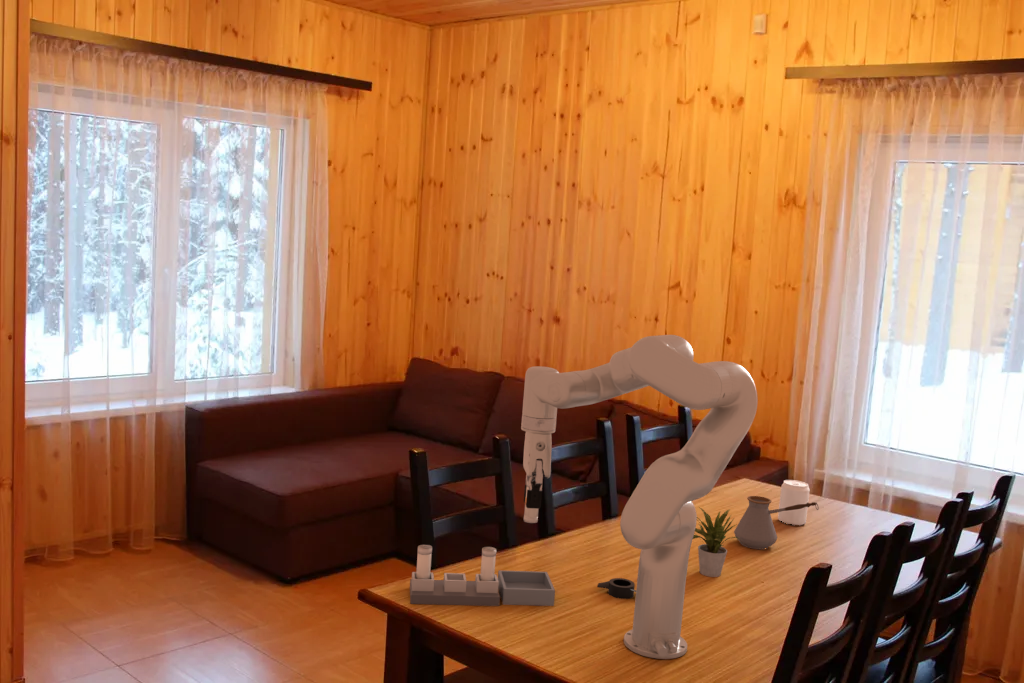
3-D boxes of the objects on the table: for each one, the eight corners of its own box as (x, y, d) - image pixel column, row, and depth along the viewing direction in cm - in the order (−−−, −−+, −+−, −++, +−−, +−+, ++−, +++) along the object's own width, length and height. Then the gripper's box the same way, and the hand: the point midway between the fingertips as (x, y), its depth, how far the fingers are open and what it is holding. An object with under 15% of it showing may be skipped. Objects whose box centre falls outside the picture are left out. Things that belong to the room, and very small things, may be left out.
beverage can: (777, 523, 289) (781, 484, 287) (778, 516, 296) (782, 478, 295) (805, 528, 286) (810, 488, 285) (805, 520, 294) (810, 482, 293)
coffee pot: (727, 545, 265) (733, 491, 263) (739, 535, 275) (745, 483, 273) (808, 563, 255) (814, 507, 253) (817, 552, 265) (823, 498, 263)
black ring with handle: (617, 584, 229) (618, 572, 229) (648, 599, 221) (649, 587, 221) (593, 590, 224) (594, 578, 224) (624, 605, 217) (625, 593, 216)
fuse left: (429, 590, 211) (432, 549, 210) (415, 589, 211) (418, 549, 210) (429, 584, 214) (431, 545, 213) (414, 584, 214) (417, 544, 213)
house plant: (693, 557, 252) (699, 495, 250) (745, 570, 245) (752, 507, 243) (672, 572, 240) (679, 507, 238) (727, 586, 233) (734, 519, 231)
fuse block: (499, 606, 210) (500, 585, 210) (410, 603, 208) (411, 583, 207) (494, 590, 219) (496, 570, 219) (409, 587, 217) (411, 568, 216)
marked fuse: (538, 523, 214) (542, 483, 213) (524, 522, 214) (527, 482, 213) (536, 519, 217) (539, 479, 216) (522, 518, 217) (526, 479, 216)
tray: (553, 605, 213) (555, 590, 212) (502, 604, 211) (504, 588, 211) (545, 586, 224) (547, 571, 223) (497, 585, 222) (498, 570, 222)
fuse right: (494, 591, 213) (497, 551, 212) (479, 591, 213) (482, 551, 211) (492, 586, 216) (495, 547, 215) (478, 586, 216) (481, 546, 215)
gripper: (562, 432, 205) (554, 517, 208) (549, 416, 222) (543, 495, 224) (526, 431, 204) (519, 516, 207) (516, 415, 221) (510, 494, 223)
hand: (532, 504), depth 215 cm, fingers closed on marked fuse, 3 cm apart
